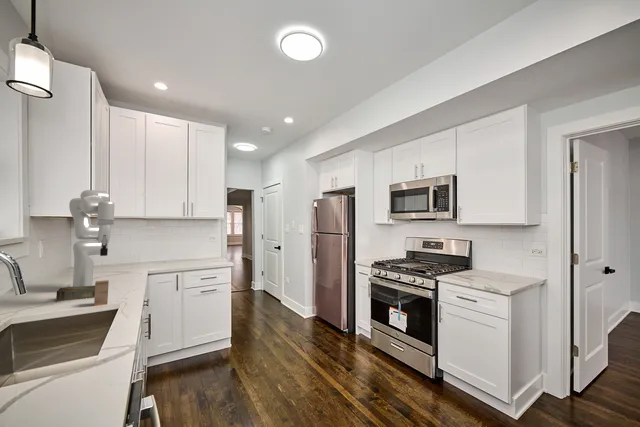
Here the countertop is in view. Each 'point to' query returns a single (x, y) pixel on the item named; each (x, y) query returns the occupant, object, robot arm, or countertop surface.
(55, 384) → the countertop surface
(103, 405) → the countertop surface
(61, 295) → the beverage carton
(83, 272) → the robot arm
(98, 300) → the wooden block
